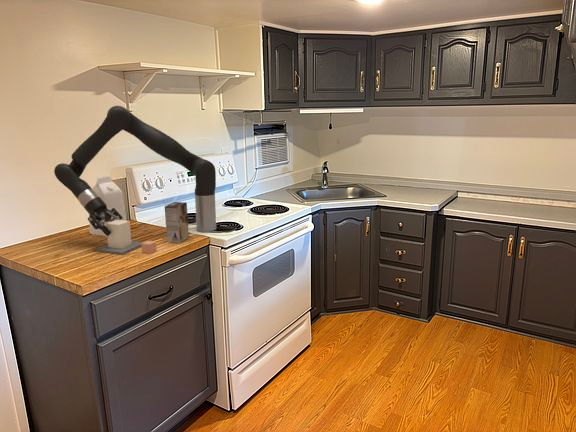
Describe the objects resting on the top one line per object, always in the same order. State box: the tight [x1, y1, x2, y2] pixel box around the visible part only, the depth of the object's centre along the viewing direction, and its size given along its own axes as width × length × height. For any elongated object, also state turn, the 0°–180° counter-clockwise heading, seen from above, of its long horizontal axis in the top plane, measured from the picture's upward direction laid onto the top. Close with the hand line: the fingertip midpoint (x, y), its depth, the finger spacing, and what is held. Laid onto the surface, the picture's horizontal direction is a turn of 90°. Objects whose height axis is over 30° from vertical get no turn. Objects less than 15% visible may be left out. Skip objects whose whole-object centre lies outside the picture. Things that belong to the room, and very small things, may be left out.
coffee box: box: [164, 201, 190, 244], centre depth 193 cm, size 9×6×16 cm
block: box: [141, 240, 157, 255], centre depth 178 cm, size 4×4×4 cm
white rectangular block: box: [106, 220, 133, 249], centre depth 182 cm, size 6×6×10 cm
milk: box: [88, 175, 128, 237], centre depth 203 cm, size 12×12×26 cm
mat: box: [94, 240, 145, 256], centre depth 183 cm, size 14×14×1 cm
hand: (116, 231), depth 181 cm, fingers open, 8 cm apart
